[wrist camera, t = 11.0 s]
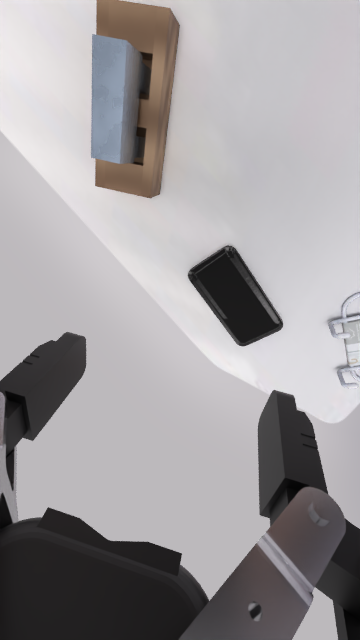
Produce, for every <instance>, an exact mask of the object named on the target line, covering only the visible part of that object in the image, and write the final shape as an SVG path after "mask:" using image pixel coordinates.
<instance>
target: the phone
mask: <svg viewBox="0 0 360 640" xmlns="http://www.w3.org/2000/svg"><path fill="white" fill-rule="evenodd" d="M188 277H189V280H190V281H191V283H192V284H193V285H194V287H195V288H196V289H197V291H198V292H199V293H200V295H201V296H202V298H203V299H204V300H205V302H206V303H207V304H208V306H209V307H210V308H211V310H212V311H213V312H214V314H215V315H216V316H217V318H218V319H219V320H220V322H221V323H222V325H223V326H224V327H225V329H226V330H227V331H228V333H229V334H230V335H231V337H232V338H233V339H234V341H235V342H236V343H237V344H238V345H239V346H247V345H249V344H251V343H253V342H256V341H258V340H260V339H262V338H264V337H267V336H269V335H271V334H273V333H275V332H278V331H279V330H281V329H282V327H283V322H282V319H281V318H280V316H279V315H278V313H277V312H276V310H275V309H274V307H273V305H272V304H271V302H270V301H269V299H268V298H267V296H266V295H265V293H264V292H263V290H262V289H261V287H260V286H259V284H258V283H257V281H256V280H255V278H254V276H253V275H252V273H251V272H250V270H249V269H248V267H247V266H246V264H245V263H244V261H243V260H242V258H241V257H240V255H239V254H238V252H237V251H236V249H235V248H234V247H232V246H226V247H224V248H222V249H221V250H219V251H218V252H216V253H214V254H213V255H211V256H210V257H208V258H207V259H205V260H204V261H202V262H201V263H199V264H198V265H196V266H195V267H193V268H192V269H191V270H190V272H189V274H188Z"/></svg>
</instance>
